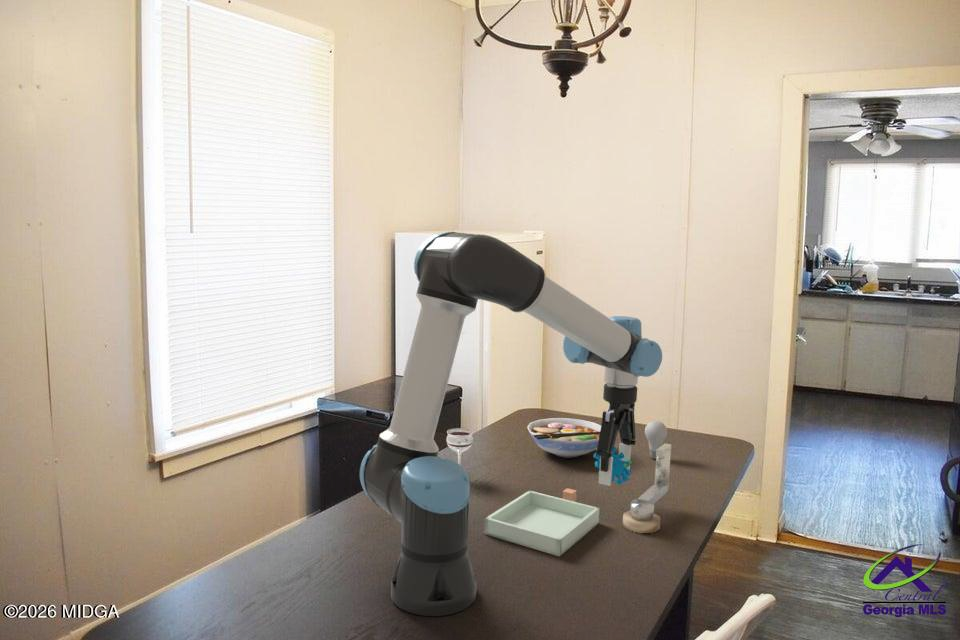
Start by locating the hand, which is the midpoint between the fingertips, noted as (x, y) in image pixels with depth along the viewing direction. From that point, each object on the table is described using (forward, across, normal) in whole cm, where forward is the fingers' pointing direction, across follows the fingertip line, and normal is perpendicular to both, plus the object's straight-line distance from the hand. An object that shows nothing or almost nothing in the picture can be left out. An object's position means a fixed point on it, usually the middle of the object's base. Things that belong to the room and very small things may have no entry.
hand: (614, 477), depth 171 cm
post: (+7, -6, +8) cm, 13 cm away
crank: (+5, 0, -9) cm, 10 cm away
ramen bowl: (+7, +29, +26) cm, 39 cm away
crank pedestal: (+7, -6, -9) cm, 13 cm away
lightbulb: (+7, +40, +4) cm, 41 cm away
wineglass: (+8, -5, +40) cm, 41 cm away
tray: (+8, -20, +8) cm, 23 cm away
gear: (+1, 0, 0) cm, 1 cm away
